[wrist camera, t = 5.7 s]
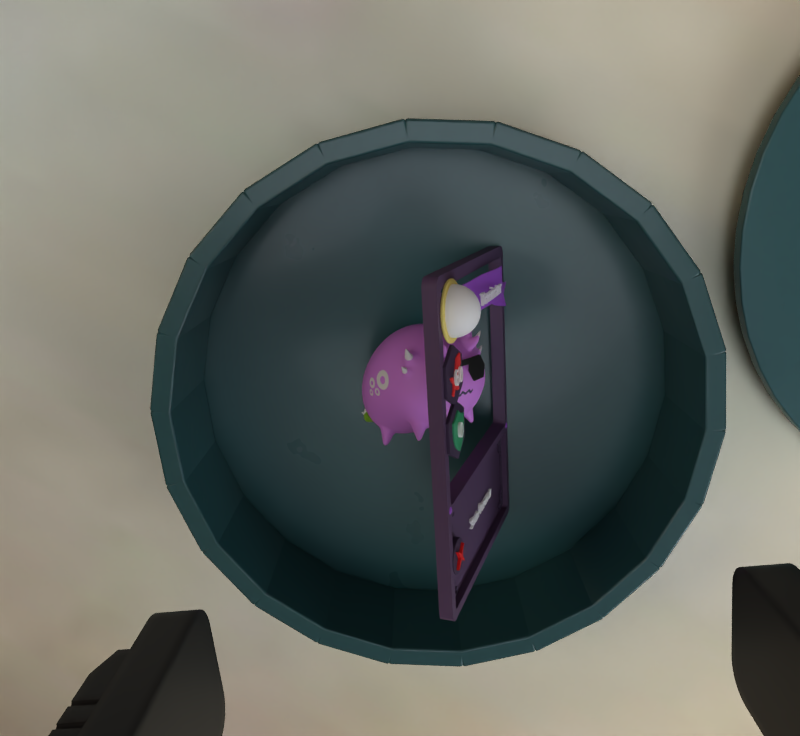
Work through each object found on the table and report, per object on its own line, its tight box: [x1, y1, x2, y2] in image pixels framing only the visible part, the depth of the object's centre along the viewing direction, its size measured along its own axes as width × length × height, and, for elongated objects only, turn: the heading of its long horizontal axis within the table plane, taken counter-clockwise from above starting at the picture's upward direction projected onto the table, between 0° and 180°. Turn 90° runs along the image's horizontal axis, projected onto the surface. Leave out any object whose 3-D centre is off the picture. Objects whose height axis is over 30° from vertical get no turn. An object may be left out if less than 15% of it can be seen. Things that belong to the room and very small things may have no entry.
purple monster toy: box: [362, 246, 509, 621], centre depth 21 cm, size 7×5×9 cm
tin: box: [150, 118, 726, 666], centre depth 22 cm, size 16×16×4 cm
